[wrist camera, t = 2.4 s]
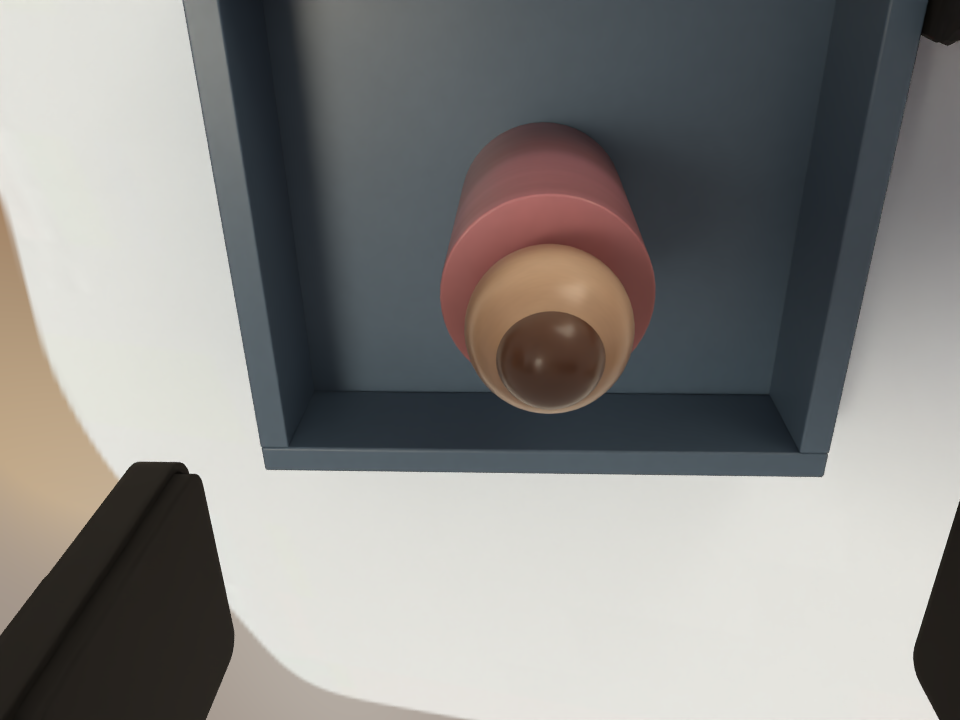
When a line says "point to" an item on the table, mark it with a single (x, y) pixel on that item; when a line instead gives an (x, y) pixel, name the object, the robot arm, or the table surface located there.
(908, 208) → the table surface
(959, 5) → the action figure
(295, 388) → the tray
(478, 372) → the peg doll
